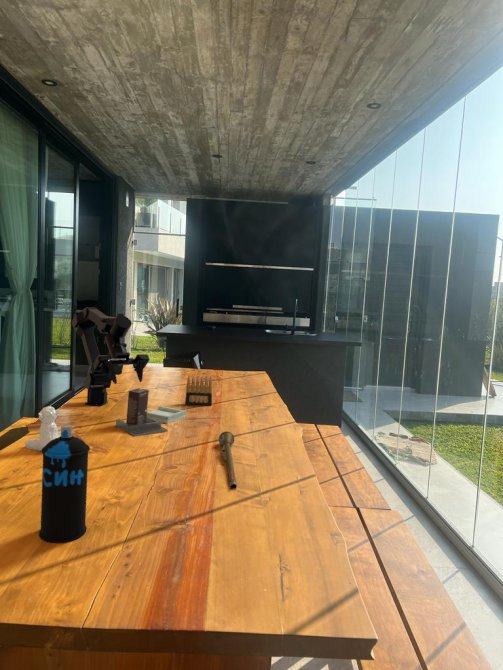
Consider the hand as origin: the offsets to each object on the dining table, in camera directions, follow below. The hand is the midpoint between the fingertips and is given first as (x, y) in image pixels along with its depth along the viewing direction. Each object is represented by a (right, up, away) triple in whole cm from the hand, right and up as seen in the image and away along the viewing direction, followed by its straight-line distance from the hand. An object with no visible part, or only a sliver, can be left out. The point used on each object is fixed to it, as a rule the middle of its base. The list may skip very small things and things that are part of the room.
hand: (128, 382), depth 166 cm
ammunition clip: (+20, -12, +31) cm, 39 cm away
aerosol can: (+7, -20, -76) cm, 79 cm away
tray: (+10, -13, +9) cm, 19 cm away
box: (+4, -14, -4) cm, 15 cm away
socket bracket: (+6, -14, -7) cm, 17 cm away
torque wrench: (+36, -19, -33) cm, 52 cm away
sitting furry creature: (-14, -15, -32) cm, 38 cm away
